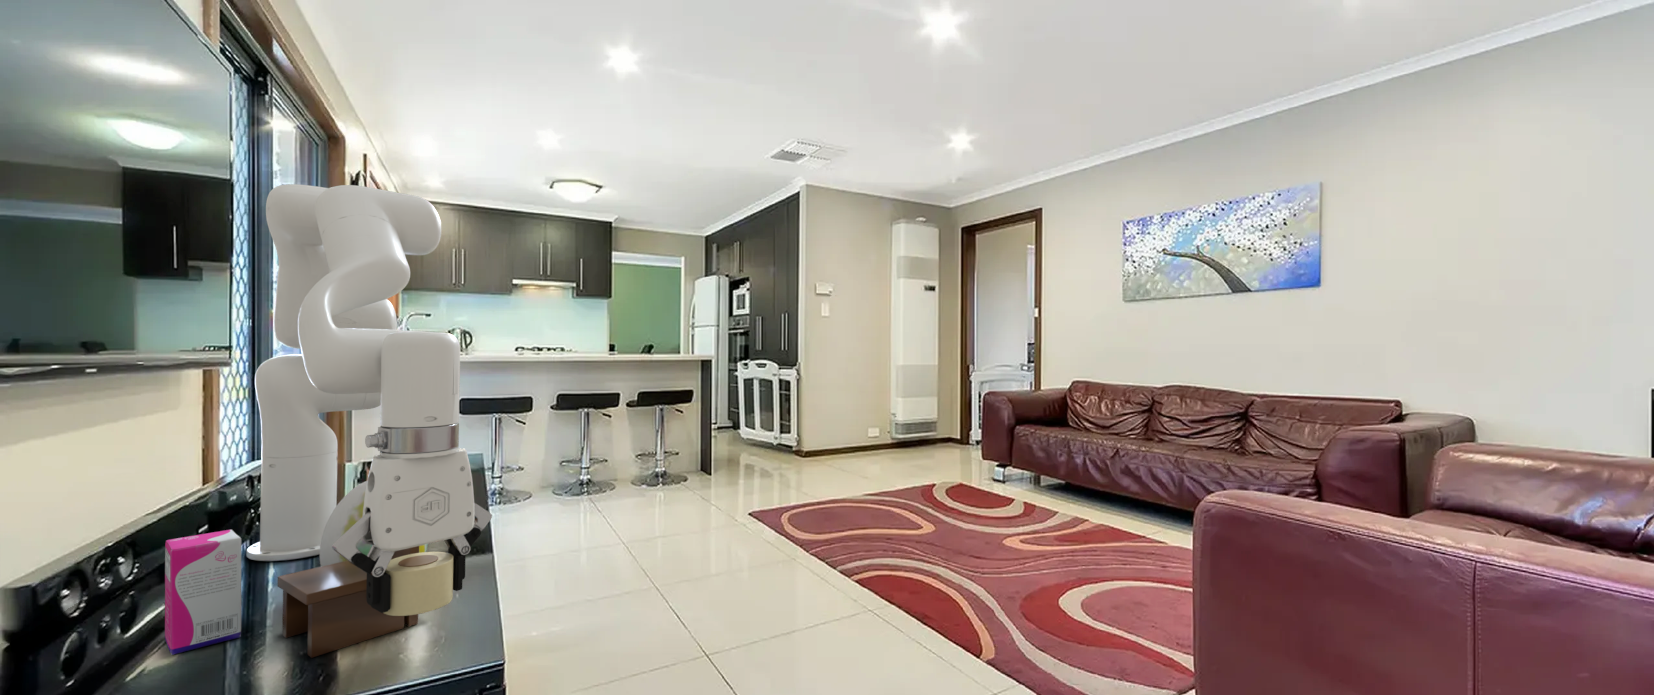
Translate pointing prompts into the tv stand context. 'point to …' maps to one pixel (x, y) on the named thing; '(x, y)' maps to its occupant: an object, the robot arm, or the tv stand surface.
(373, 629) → the wooden toy chair
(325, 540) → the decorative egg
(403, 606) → the tape roll
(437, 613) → the tv stand surface
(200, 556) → the supplement box
